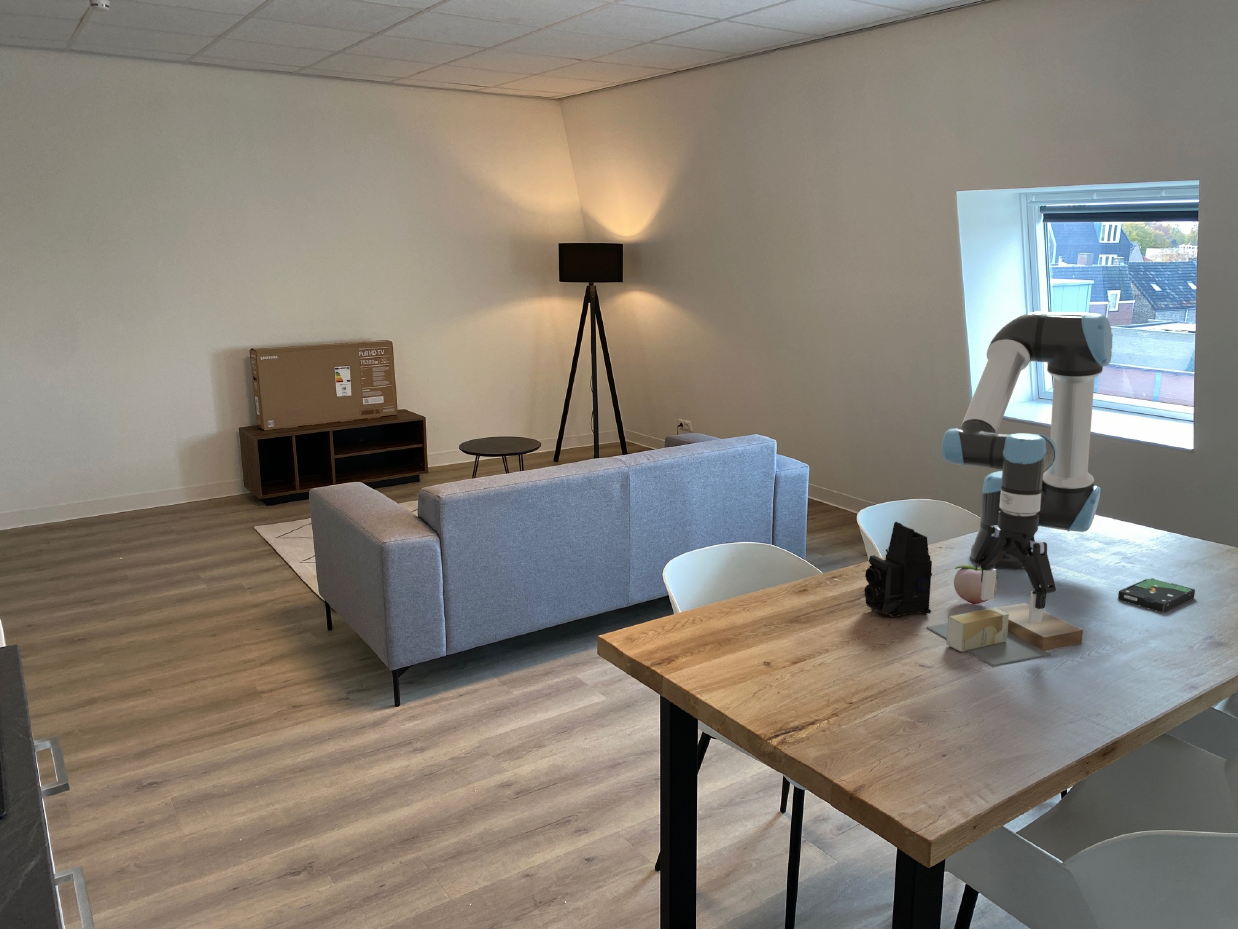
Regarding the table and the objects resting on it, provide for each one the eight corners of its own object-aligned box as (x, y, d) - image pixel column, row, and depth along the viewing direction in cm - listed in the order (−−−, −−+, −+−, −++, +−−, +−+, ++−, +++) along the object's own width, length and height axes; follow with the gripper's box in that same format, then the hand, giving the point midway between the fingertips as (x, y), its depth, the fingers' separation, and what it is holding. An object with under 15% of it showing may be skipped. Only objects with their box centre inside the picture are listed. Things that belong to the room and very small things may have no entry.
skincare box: (1007, 642, 190) (961, 654, 185) (991, 634, 194) (945, 646, 189) (1009, 612, 189) (962, 623, 184) (993, 605, 192) (947, 616, 188)
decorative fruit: (950, 608, 209) (953, 566, 206) (952, 596, 216) (955, 555, 214) (995, 614, 205) (999, 571, 203) (996, 601, 212) (999, 560, 210)
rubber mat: (926, 628, 198) (927, 626, 198) (980, 618, 203) (980, 617, 203) (992, 666, 180) (993, 664, 180) (1050, 655, 184) (1050, 653, 184)
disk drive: (1164, 616, 205) (1194, 600, 213) (1165, 604, 204) (1196, 588, 213) (1116, 602, 213) (1147, 587, 222) (1117, 590, 212) (1149, 576, 221)
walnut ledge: (987, 622, 201) (988, 609, 200) (1024, 615, 204) (1025, 602, 204) (1042, 651, 186) (1044, 637, 186) (1081, 643, 189) (1083, 630, 189)
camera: (855, 608, 210) (859, 522, 205) (907, 600, 214) (912, 516, 209) (881, 624, 200) (885, 535, 196) (934, 616, 205) (940, 528, 200)
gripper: (962, 497, 197) (955, 592, 202) (1051, 530, 174) (1041, 635, 179) (990, 494, 200) (983, 587, 204) (1082, 525, 177) (1071, 630, 182)
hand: (1010, 610), depth 192 cm, fingers open, 13 cm apart
